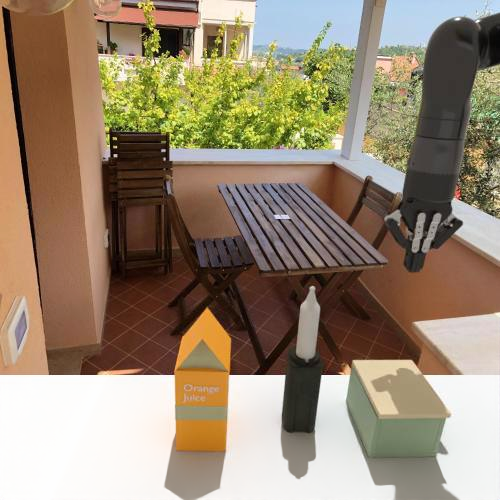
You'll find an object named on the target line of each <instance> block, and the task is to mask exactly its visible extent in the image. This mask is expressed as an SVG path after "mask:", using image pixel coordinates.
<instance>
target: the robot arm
mask: <svg viewBox="0 0 500 500" xmlns="http://www.w3.org/2000/svg"><path fill="white" fill-rule="evenodd" d="M424 53H425V54H424V59H423V69H422V80H421V81H422V84H421V101H420V106H419V109H418V115H417V119H416V124H415V131H414V136H413V140H412V142H411V144H410V145H411V146H410V149H409V154H408V158H407V160H406V164H407V165H406V170H405V174H404V175H405V176H404V182H403V186H402V195H401V200H400V202H399V203H398V204H397V207H396V210H395V211H393V212H391V213H390V214H388V213H386V214H383V215H382V216H381V217H382V218H381V219H382V222H383V223H384V224H385V227H386V228H387V229H388V231H389V232H390V234H391V236H392V238H393V239H394V241H395V243H397V244H398V245H399V246H400V247H401V248H402V249H405V252H404V258H403V262H402V263H403V267H404V268H405V270H406V271H407V272H408V273H410V274H415V273H416V274H418V273H420V271H421V270H422V269H423V268H424V265H425V261H426V256H427V253H428V252H429V251H430V250H433V249H434V250H438V249H440V248H441V247H442V246H443V245H444V244H445V243H446V242H447V241H448V240H450V238H451V237H452V236H453V235H455V234H456V233H457V231H459V229H460V228H462V227H463V225H464V222H463V220H461V219H460V218H458V217H456V215H455V214H453V211H454V210H453V209H454V208H453V205H452V201H453V200H454V198H455V195H456V191H457V185H458V182H459V181H458V180H459V178H460V173H461V168H462V164H463V159H464V152H465V143H466V136H467V133H468V128H469V123H470V119H471V113H472V93H473V90H474V86H475V82H476V77H477V73H478V72H480V71H484V70H487V69H490V68H494V67H497V66H499V65H500V12H496V13H494V14H490V15H487V16H483V17H481V18H477V19H473V18H470V17H467V16H454V17H450V18H448V19H446V20H444V21H442V23H440V24H439V25H438V26H437V27H436V28H435V29H434V30H433V32H432V33H431V35H430V37H429V38H428V42H427V44H426V48H425V52H424ZM402 223H403V224H404V226H405V234H406V236H405V235H404V232H403V231H402V229H401V228H400V226H401V225H402Z"/></svg>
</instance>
